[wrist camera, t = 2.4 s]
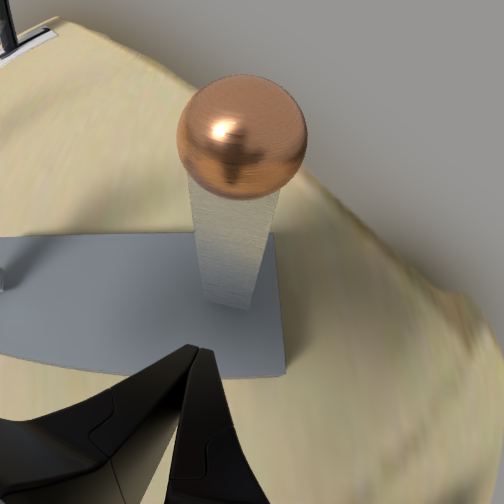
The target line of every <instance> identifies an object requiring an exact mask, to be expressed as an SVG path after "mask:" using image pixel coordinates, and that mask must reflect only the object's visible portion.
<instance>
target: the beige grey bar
mask: <svg viewBox="0 0 504 504" xmlns="http://www.w3.org/2000/svg"><path fill="white" fill-rule="evenodd" d="M4 276H5V270H4V269H3V268H1V267H0V292H3V291H4Z"/></svg>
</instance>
